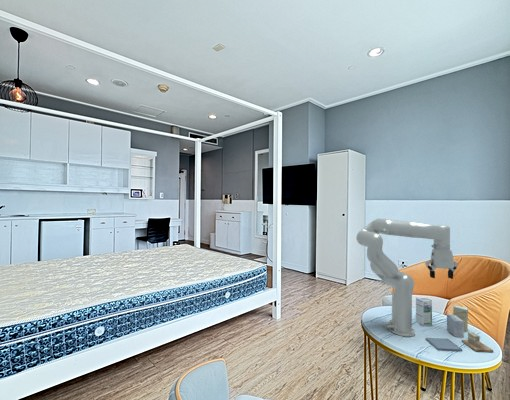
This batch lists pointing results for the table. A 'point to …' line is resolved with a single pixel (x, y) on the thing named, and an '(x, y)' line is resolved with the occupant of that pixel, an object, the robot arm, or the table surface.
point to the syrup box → (424, 311)
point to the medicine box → (455, 325)
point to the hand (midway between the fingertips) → (441, 277)
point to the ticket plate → (443, 344)
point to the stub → (476, 343)
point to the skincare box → (461, 315)
